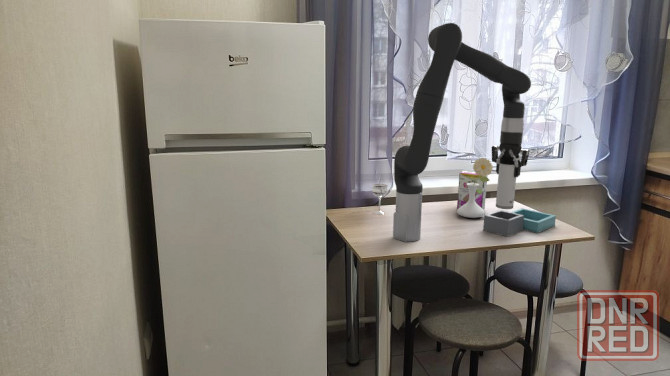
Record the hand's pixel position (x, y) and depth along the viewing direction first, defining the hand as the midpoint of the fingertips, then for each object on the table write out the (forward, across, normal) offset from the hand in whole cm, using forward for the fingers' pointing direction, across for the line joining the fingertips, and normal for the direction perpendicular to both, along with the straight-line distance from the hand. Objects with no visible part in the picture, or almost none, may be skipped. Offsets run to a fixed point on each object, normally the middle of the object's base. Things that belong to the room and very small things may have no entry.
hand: (507, 175), depth 173 cm
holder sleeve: (+21, 0, 0) cm, 21 cm away
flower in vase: (+22, -18, +7) cm, 29 cm away
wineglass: (+22, -47, -19) cm, 55 cm away
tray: (+21, +3, +14) cm, 26 cm away
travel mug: (+12, 0, 0) cm, 12 cm away
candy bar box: (+22, -25, +16) cm, 37 cm away
